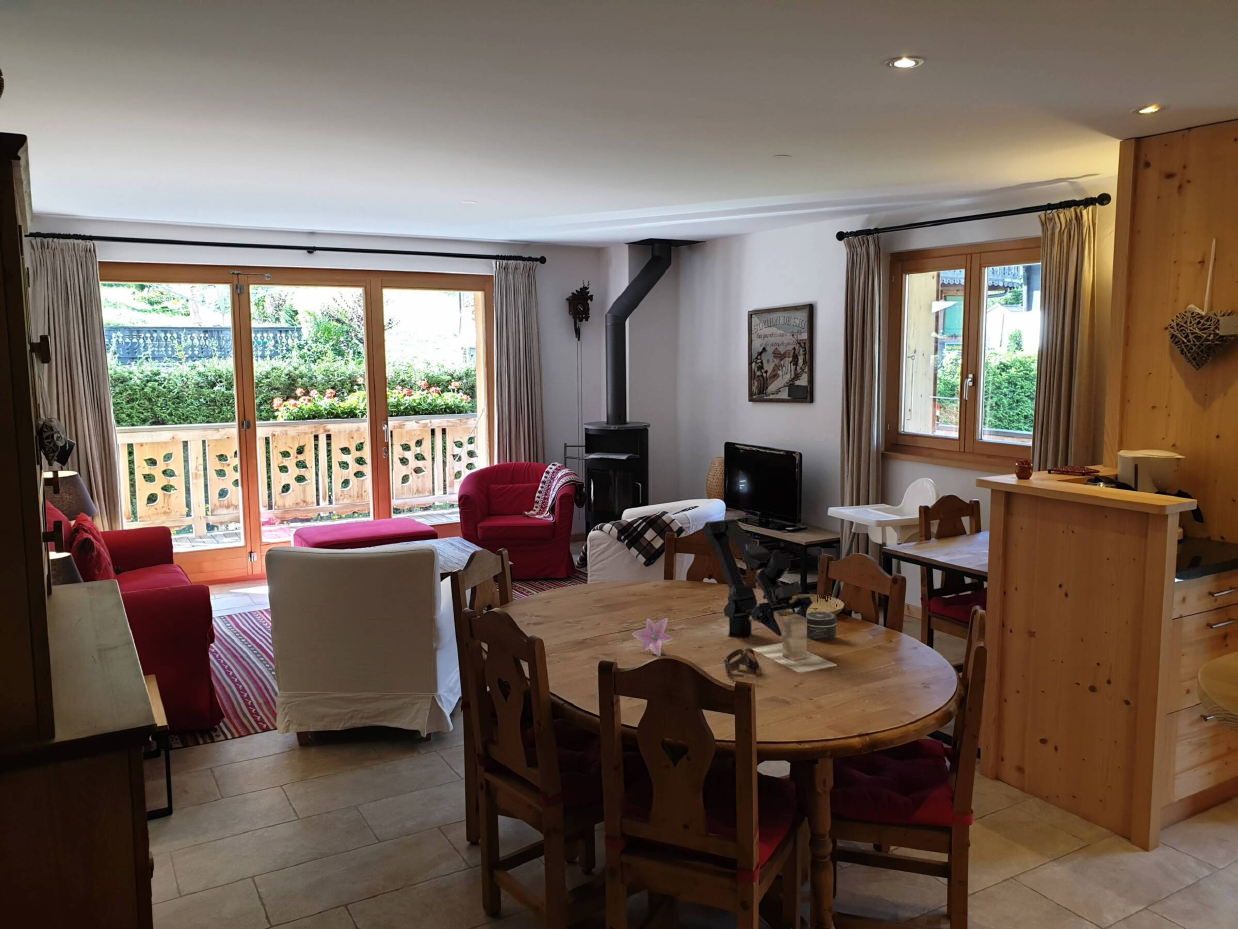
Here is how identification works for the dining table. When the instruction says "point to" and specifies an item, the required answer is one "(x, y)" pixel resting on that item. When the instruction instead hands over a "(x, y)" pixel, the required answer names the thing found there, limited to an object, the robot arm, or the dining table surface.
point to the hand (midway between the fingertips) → (793, 633)
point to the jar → (821, 625)
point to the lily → (653, 636)
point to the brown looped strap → (742, 660)
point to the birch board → (799, 666)
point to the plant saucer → (819, 605)
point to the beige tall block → (794, 637)
